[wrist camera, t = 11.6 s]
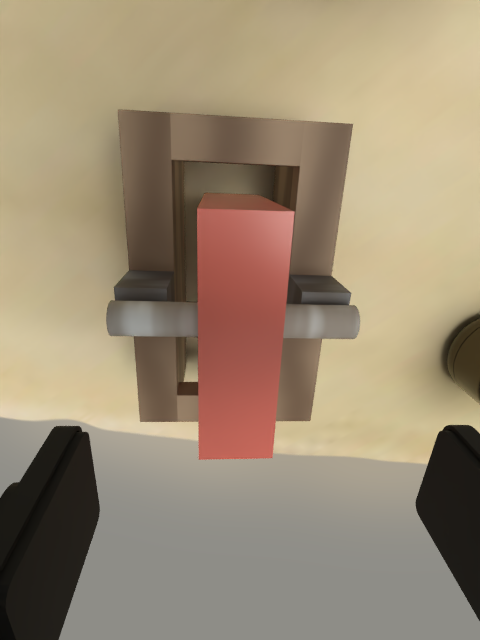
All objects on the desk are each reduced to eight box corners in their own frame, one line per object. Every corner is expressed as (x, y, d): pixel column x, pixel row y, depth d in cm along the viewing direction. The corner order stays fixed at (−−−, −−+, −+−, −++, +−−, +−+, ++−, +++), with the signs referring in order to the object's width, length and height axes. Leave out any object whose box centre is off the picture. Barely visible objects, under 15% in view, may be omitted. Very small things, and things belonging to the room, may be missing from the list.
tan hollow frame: (311, 139, 31) (400, 106, 16) (287, 362, 39) (332, 476, 24) (147, 129, 30) (82, 85, 15) (158, 361, 38) (122, 480, 23)
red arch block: (258, 194, 27) (294, 211, 15) (250, 350, 32) (272, 458, 20) (204, 192, 26) (196, 208, 14) (204, 350, 31) (198, 459, 19)
